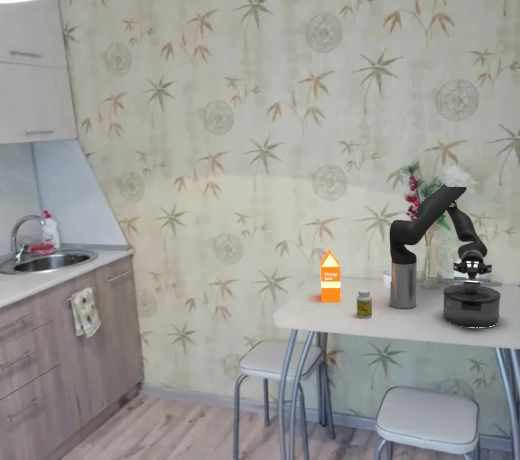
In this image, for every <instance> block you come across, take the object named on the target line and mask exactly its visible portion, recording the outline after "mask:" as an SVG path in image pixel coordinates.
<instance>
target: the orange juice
mask: <svg viewBox="0 0 520 460" xmlns="http://www.w3.org/2000/svg"><path fill="white" fill-rule="evenodd" d="M320 287H321V288H320V292H321V293H320V294H321V296H320V297H321V303H341V302H342V301H341V299H342V298H341V264H340V261H339V260H338V259H337V257H336V256H335V255H334V254H333V252H332V251H331V249H330V248H329V249H328V251H327V252H326V253H325V255H324V256H323V258H322V259H321V260H320Z"/></svg>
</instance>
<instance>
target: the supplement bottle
mask: <svg viewBox="0 0 520 460" xmlns="http://www.w3.org/2000/svg"><path fill="white" fill-rule="evenodd" d="M357 293H358V295H357V297H356V316H357V317H359V318H361V319H369V318H371V317H372V315H373V307H372V306H373V299H372V296H371V294H370V293H371V292H370V290H369V289H364V288H363V289H359V290H358V292H357Z"/></svg>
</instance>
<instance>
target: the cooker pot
mask: <svg viewBox="0 0 520 460" xmlns="http://www.w3.org/2000/svg"><path fill="white" fill-rule="evenodd" d="M442 292H443V309H442V310H443V312H442V313H443V315H442V318H443V317H444V318H443V320H444V319H445V320H446V321H448V322H450V323H452V324H451V325H453V324H455V325H458V326H457V327H459V326H463V327H462V328H464V327H475V328H476V327H478V328H479V327H489V326H493V325H496V324H497V323H498V322H500V321H499V320H500V302H501V297H502V296H501V293H500V291H499V290H496V289H494V288H492V287H489V286H483V285H468V284H454V285H450V286H447V287H445V288H444V289H443V291H442ZM445 320H444V321H445ZM446 321H445V322H446ZM448 322H447V323H448ZM450 323H449V324H450ZM498 324H499V323H498ZM455 325H454V326H455ZM496 326H497V325H496Z"/></svg>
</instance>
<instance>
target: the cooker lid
mask: <svg viewBox="0 0 520 460" xmlns="http://www.w3.org/2000/svg"><path fill="white" fill-rule="evenodd" d="M442 283H445V284H454V285H463V284H468V285H480V286H484V287H503V282H500V281H499V282H498V281H492V278H484V277H483V278H482V277H477V276H474V277H470V276H469V275H468V274H467V277H466V276H453V278H442Z"/></svg>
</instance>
